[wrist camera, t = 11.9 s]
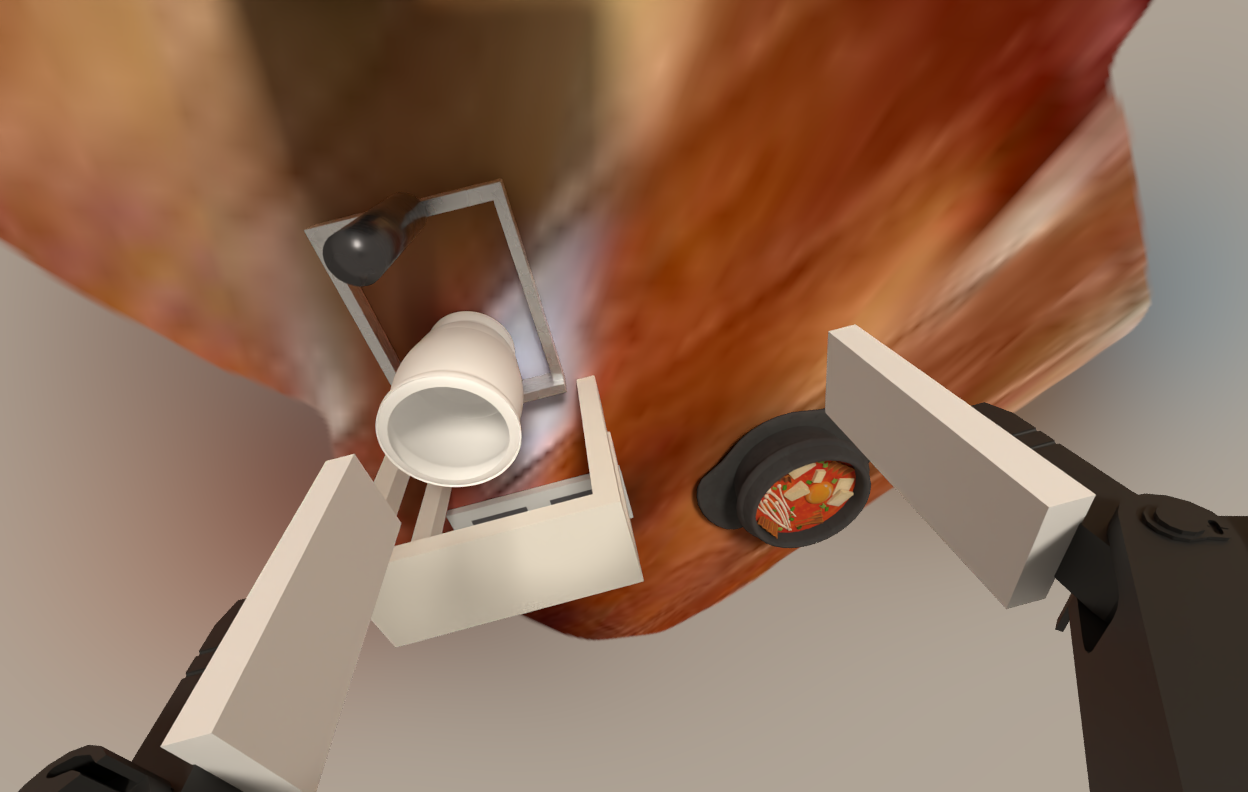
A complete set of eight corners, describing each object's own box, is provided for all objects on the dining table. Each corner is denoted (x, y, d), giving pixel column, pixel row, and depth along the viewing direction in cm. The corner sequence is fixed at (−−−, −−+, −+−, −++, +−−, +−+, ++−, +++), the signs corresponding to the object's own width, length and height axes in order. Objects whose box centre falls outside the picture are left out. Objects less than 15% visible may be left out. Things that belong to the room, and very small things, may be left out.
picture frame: (306, 212, 39) (197, 266, 26) (497, 165, 39) (479, 196, 27) (418, 415, 50) (378, 520, 38) (565, 377, 51) (574, 469, 38)
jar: (546, 342, 49) (549, 426, 37) (486, 409, 52) (471, 507, 40) (455, 277, 44) (423, 347, 32) (396, 354, 47) (345, 447, 35)
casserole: (723, 539, 70) (744, 589, 63) (669, 461, 61) (686, 508, 54) (882, 460, 67) (923, 503, 60) (851, 363, 57) (896, 400, 50)
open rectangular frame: (397, 425, 52) (333, 576, 35) (594, 375, 52) (620, 501, 36) (472, 554, 64) (451, 711, 47) (632, 511, 64) (664, 653, 48)
